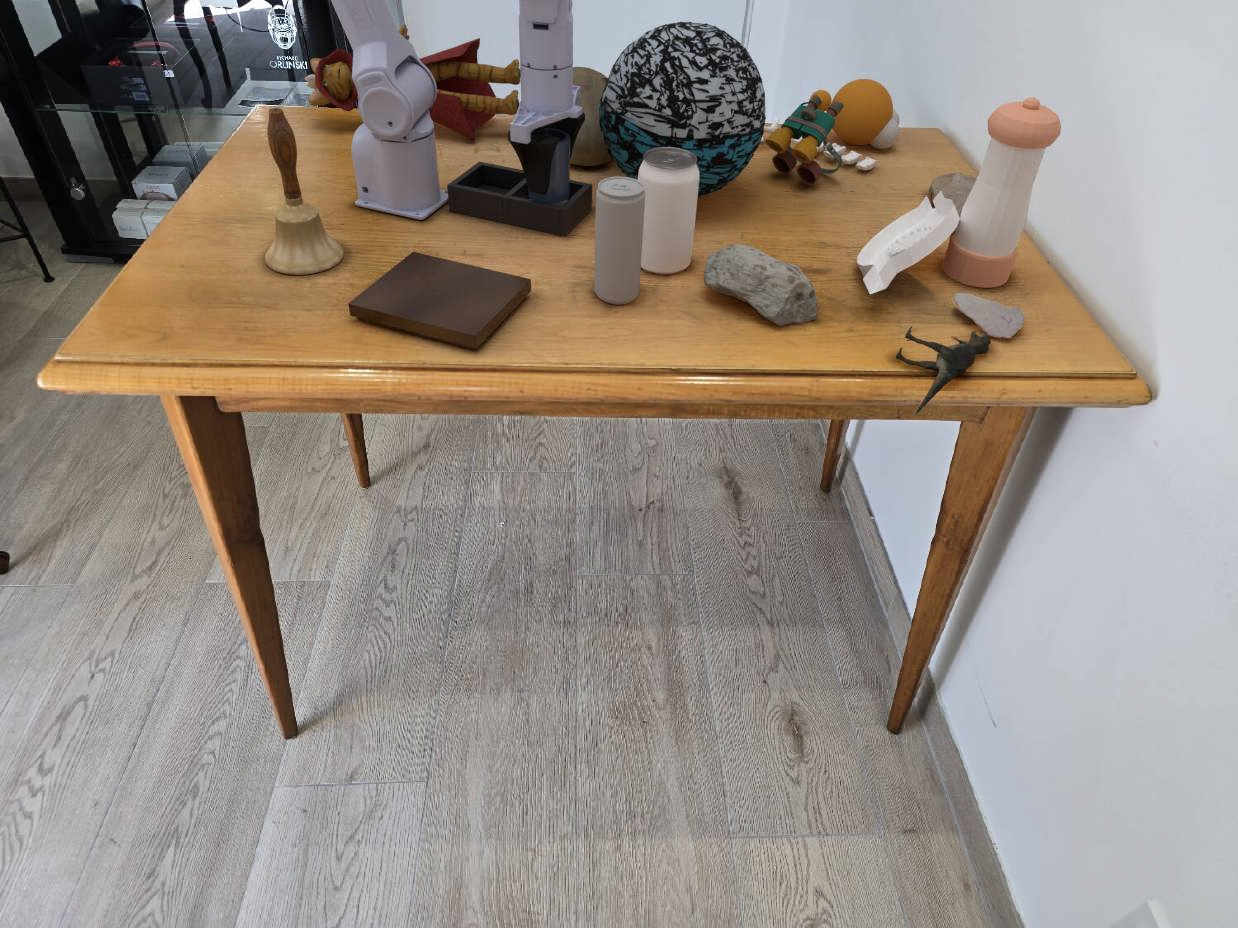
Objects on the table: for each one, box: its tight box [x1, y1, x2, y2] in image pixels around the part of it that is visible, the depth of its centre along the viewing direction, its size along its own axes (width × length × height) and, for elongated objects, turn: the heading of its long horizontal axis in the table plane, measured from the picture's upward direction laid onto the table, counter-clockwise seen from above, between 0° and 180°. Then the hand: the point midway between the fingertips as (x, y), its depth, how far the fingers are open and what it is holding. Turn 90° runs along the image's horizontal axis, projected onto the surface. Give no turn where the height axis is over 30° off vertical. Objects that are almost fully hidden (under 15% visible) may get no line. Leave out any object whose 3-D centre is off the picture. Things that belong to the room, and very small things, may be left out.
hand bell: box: [264, 107, 345, 276], centre depth 92 cm, size 8×8×16 cm
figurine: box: [304, 24, 521, 141], centre depth 125 cm, size 16×13×30 cm
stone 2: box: [953, 292, 1026, 339], centre depth 91 cm, size 6×8×2 cm
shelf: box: [347, 251, 532, 351], centre depth 89 cm, size 14×12×2 cm
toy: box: [799, 78, 900, 150], centre depth 127 cm, size 9×10×15 cm
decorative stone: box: [703, 243, 818, 327], centre depth 92 cm, size 12×11×5 cm
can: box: [638, 147, 699, 276], centre depth 95 cm, size 6×6×12 cm
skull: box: [570, 66, 613, 167], centre depth 120 cm, size 12×18×12 cm, turn 15°
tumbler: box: [528, 128, 571, 204], centre depth 103 cm, size 5×5×7 cm
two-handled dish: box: [856, 190, 960, 295], centre depth 98 cm, size 10×25×2 cm
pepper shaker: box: [941, 97, 1062, 289], centre depth 94 cm, size 7×7×19 cm
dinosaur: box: [895, 326, 992, 416], centre depth 83 cm, size 4×20×7 cm
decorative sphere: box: [599, 21, 767, 198], centre depth 107 cm, size 20×20×20 cm
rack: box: [446, 161, 593, 237], centre depth 107 cm, size 15×8×3 cm, turn 69°
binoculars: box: [765, 94, 844, 186], centre depth 116 cm, size 9×9×10 cm
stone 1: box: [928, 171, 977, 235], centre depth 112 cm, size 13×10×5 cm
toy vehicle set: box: [792, 136, 878, 172], centre depth 124 cm, size 12×4×2 cm, turn 49°
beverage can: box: [593, 176, 645, 306], centre depth 89 cm, size 5×5×12 cm
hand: (548, 183), depth 104 cm, fingers closed on tumbler, 5 cm apart
